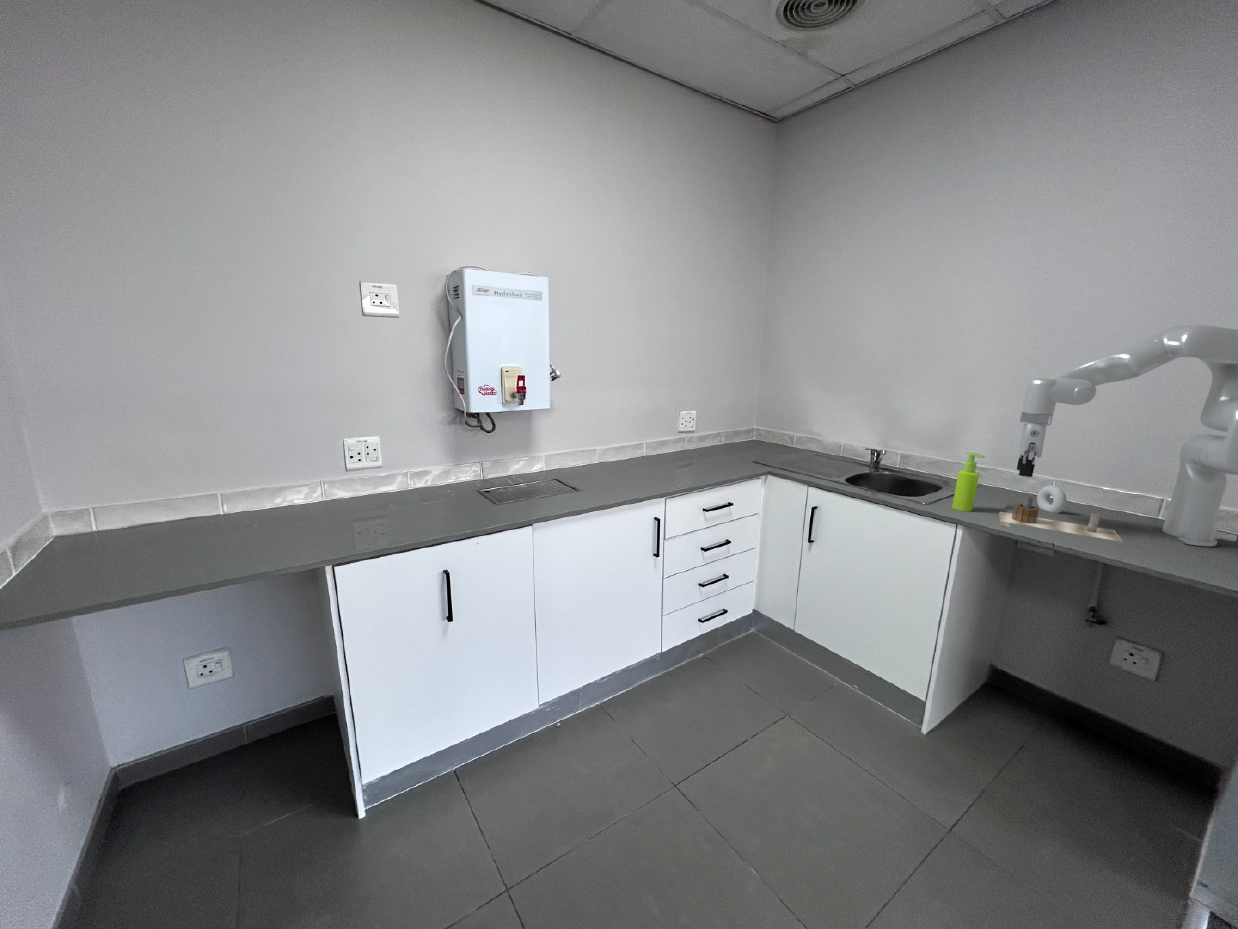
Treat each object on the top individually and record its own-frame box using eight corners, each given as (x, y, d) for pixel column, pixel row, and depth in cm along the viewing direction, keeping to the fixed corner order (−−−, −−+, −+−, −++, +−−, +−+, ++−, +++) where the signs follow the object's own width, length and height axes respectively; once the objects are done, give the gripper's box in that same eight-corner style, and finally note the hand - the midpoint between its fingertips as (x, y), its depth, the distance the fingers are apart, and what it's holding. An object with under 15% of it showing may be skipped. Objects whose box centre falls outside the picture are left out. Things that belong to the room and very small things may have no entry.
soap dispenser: (964, 512, 170) (975, 455, 165) (947, 506, 176) (958, 451, 172) (979, 512, 171) (990, 455, 166) (961, 505, 177) (972, 450, 173)
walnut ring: (1034, 519, 159) (1037, 506, 158) (1036, 524, 155) (1039, 510, 154) (1011, 515, 163) (1014, 502, 162) (1012, 520, 158) (1015, 507, 157)
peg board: (1113, 534, 152) (1121, 505, 149) (1122, 546, 142) (1131, 515, 140) (999, 515, 167) (1004, 488, 165) (1000, 525, 157) (1006, 496, 155)
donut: (1065, 518, 166) (1072, 490, 163) (1055, 518, 166) (1062, 489, 163) (1041, 509, 175) (1047, 482, 173) (1031, 509, 175) (1037, 481, 173)
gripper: (1055, 423, 144) (1042, 480, 147) (1048, 417, 157) (1036, 470, 161) (1022, 420, 148) (1010, 476, 152) (1018, 415, 162) (1007, 466, 166)
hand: (1024, 473), depth 156 cm, fingers open, 9 cm apart
